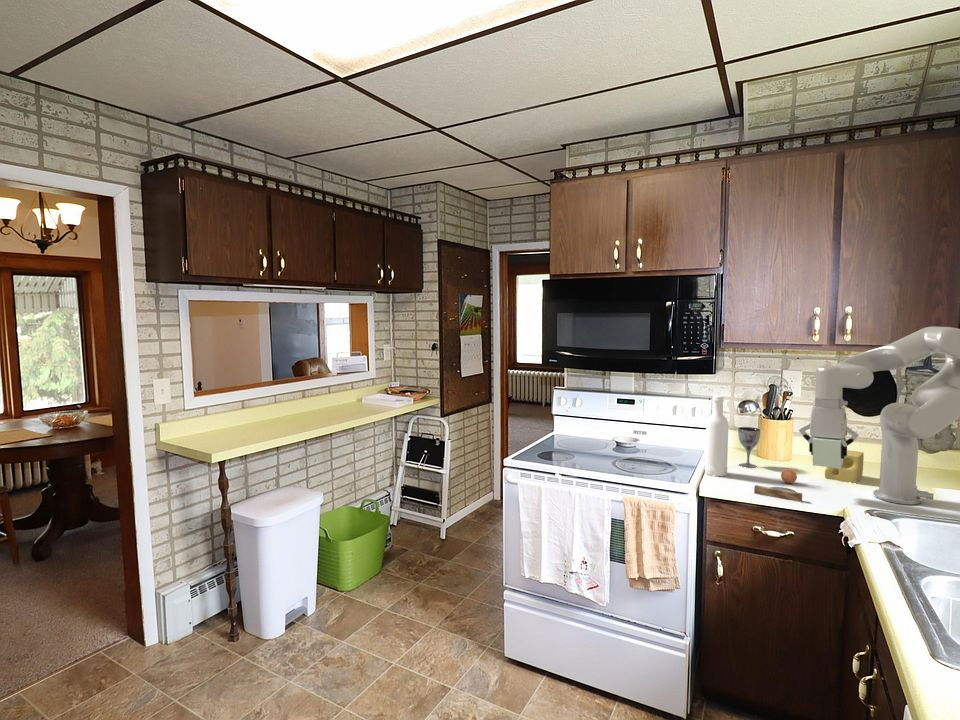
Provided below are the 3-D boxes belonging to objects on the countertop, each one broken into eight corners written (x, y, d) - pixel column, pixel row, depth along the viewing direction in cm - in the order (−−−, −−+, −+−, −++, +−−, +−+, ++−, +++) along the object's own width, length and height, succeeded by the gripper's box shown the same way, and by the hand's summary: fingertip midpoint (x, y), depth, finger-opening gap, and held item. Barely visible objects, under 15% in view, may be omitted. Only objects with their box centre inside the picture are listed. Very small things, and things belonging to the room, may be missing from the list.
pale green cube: (843, 462, 183) (843, 436, 182) (840, 468, 177) (840, 441, 176) (816, 459, 188) (816, 434, 187) (812, 465, 182) (812, 439, 181)
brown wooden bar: (802, 500, 180) (802, 493, 180) (801, 502, 179) (801, 494, 178) (755, 492, 189) (755, 485, 188) (754, 493, 187) (754, 486, 187)
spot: (799, 490, 190) (799, 490, 190) (794, 497, 183) (794, 497, 183) (770, 485, 195) (770, 485, 195) (764, 492, 188) (764, 491, 188)
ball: (797, 482, 199) (798, 469, 198) (795, 486, 195) (795, 472, 194) (782, 480, 202) (782, 466, 201) (779, 483, 198) (780, 469, 198)
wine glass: (756, 469, 215) (758, 432, 214) (735, 466, 220) (736, 429, 219) (760, 465, 221) (762, 428, 220) (739, 462, 226) (740, 426, 225)
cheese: (824, 478, 204) (825, 452, 203) (831, 472, 211) (832, 446, 210) (857, 484, 196) (859, 457, 195) (864, 478, 204) (865, 451, 203)
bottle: (704, 469, 215) (706, 394, 213) (726, 471, 213) (728, 394, 210) (704, 475, 208) (707, 397, 205) (727, 477, 205) (730, 398, 203)
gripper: (861, 403, 178) (860, 457, 179) (800, 400, 189) (799, 450, 190) (859, 407, 172) (858, 462, 174) (796, 403, 183) (795, 455, 184)
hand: (827, 455), depth 182 cm, fingers closed on pale green cube, 7 cm apart
